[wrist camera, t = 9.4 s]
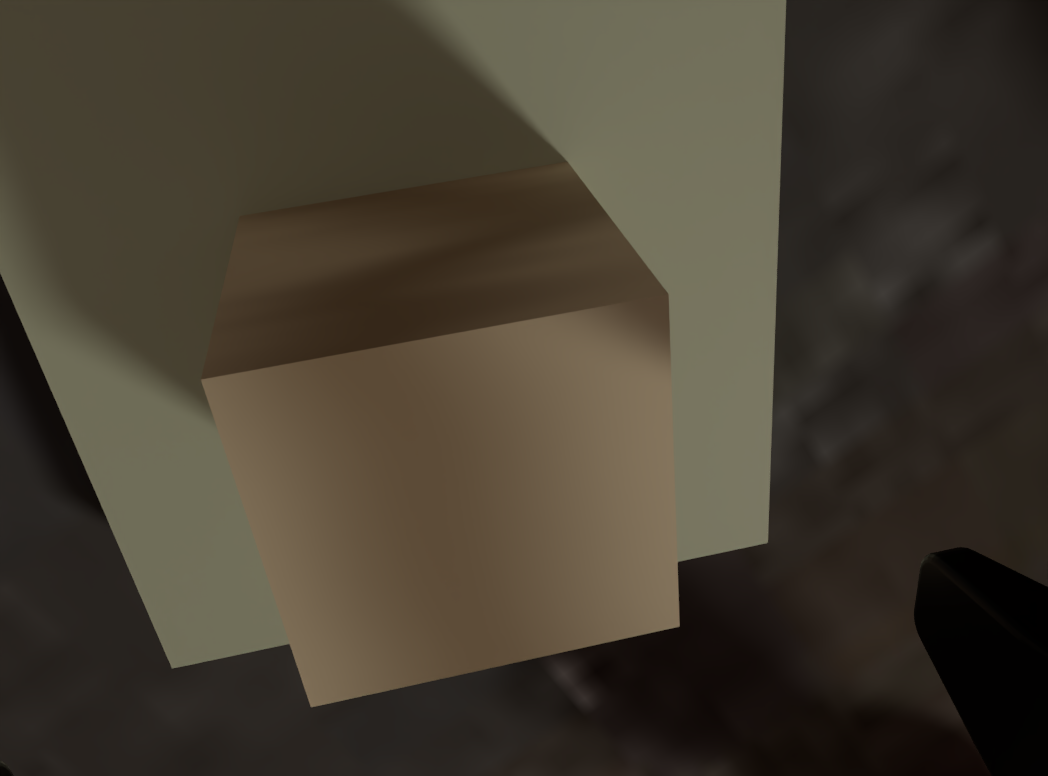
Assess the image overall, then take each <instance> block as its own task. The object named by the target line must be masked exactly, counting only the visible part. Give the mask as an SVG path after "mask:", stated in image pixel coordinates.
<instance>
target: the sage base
mask: <svg viewBox="0 0 1048 776" xmlns="http://www.w3.org/2000/svg"><path fill="white" fill-rule="evenodd" d="M785 17H786V0H0V274H1V276H2V278H3V281H4V283H5V285H6V288H7V290H8V292H9V294H10V297H11V299H12V301H13V304H14V306H15V308H16V311H17V313H18V315H19V317H20V320H21V322H22V324H23V327H24V329H25V331H26V334H27V336H28V338H29V340H30V343H31V345H32V347H33V350H34V352H35V354H36V357H37V359H38V361H39V363H40V366H41V368H42V370H43V373H44V375H45V377H46V380H47V382H48V384H49V386H50V389H51V391H52V393H53V396H54V398H55V400H56V403H57V405H58V407H59V409H60V412H61V414H62V416H63V419H64V421H65V423H66V426H67V428H68V430H69V432H70V435H71V437H72V439H73V442H74V444H75V446H76V448H77V451H78V453H79V455H80V458H81V460H82V462H83V465H84V467H85V469H86V471H87V474H88V476H89V478H90V481H91V483H92V485H93V488H94V490H95V492H96V494H97V497H98V499H99V501H100V504H101V506H102V508H103V511H104V513H105V515H106V517H107V520H108V522H109V524H110V527H111V529H112V531H113V534H114V536H115V538H116V540H117V543H118V545H119V547H120V550H121V552H122V554H123V557H124V559H125V561H126V563H127V566H128V568H129V570H130V573H131V575H132V577H133V580H134V582H135V584H136V586H137V589H138V591H139V593H140V596H141V598H142V600H143V603H144V605H145V607H146V609H147V612H148V614H149V616H150V619H151V621H152V623H153V626H154V628H155V630H156V632H157V635H158V637H159V639H160V642H161V644H162V646H163V649H164V651H165V653H166V655H167V658H168V660H169V662H170V665H171V667H172V668H177V667H182V666H186V665H191V664H196V663H201V662H205V661H210V660H215V659H220V658H224V657H229V656H234V655H238V654H243V653H248V652H253V651H257V650H262V649H267V648H272V647H276V646H281V645H286V644H290V643H289V640H288V637H287V634H286V631H285V628H284V625H283V622H282V619H281V616H280V614H279V611H278V608H277V605H276V602H275V599H274V596H273V593H272V590H271V587H270V584H269V581H268V578H267V575H266V572H265V569H264V566H263V563H262V560H261V557H260V554H259V551H258V548H257V545H256V542H255V539H254V536H253V533H252V530H251V527H250V524H249V521H248V519H247V516H246V513H245V510H244V507H243V504H242V501H241V498H240V495H239V492H238V489H237V486H236V483H235V480H234V477H233V474H232V471H231V468H230V465H229V462H228V459H227V456H226V453H225V450H224V447H223V444H222V441H221V438H220V435H219V432H218V429H217V427H216V424H215V421H214V418H213V415H212V412H211V409H210V406H209V403H208V400H207V397H206V394H205V391H204V388H203V385H202V382H201V376H202V372H203V368H204V364H205V360H206V355H207V351H208V347H209V343H210V339H211V334H212V330H213V326H214V322H215V318H216V313H217V309H218V305H219V301H220V297H221V292H222V288H223V284H224V280H225V275H226V271H227V267H228V263H229V259H230V254H231V250H232V246H233V242H234V238H235V233H236V229H237V225H238V221H239V217H240V216H243V215H249V214H255V213H261V212H267V211H273V210H279V209H285V208H291V207H297V206H303V205H309V204H315V203H321V202H327V201H333V200H339V199H345V198H351V197H357V196H363V195H369V194H375V193H381V192H387V191H393V190H399V189H405V188H411V187H417V186H423V185H429V184H435V183H441V182H447V181H453V180H459V179H465V178H472V177H478V176H484V175H490V174H496V173H502V172H508V171H514V170H520V169H526V168H532V167H538V166H544V165H550V164H556V163H562V162H568V163H569V164H570V165H571V167H572V168H573V169H574V171H575V172H576V173H577V175H578V176H579V177H580V179H581V180H582V181H583V182H584V184H585V185H586V186H587V188H588V189H589V190H590V192H591V193H592V194H593V196H594V197H595V198H596V200H597V201H598V202H599V203H600V205H601V206H602V207H603V209H604V210H605V211H606V213H607V214H608V215H609V217H610V218H611V219H612V221H613V222H614V223H615V224H616V226H617V227H618V228H619V230H620V231H621V232H622V234H623V235H624V236H625V238H626V239H627V240H628V242H629V243H630V244H631V245H632V247H633V248H634V249H635V251H636V252H637V253H638V255H639V256H640V257H641V259H642V260H643V261H644V263H645V264H646V265H647V267H648V268H649V269H650V270H651V272H652V273H653V274H654V276H655V277H656V278H657V280H658V281H659V282H660V284H661V285H662V286H663V288H664V289H665V290H666V291H667V293H668V294H669V320H670V350H671V380H672V410H673V440H674V471H675V501H676V531H677V561H678V562H679V561H684V560H689V559H693V558H698V557H703V556H708V555H712V554H717V553H722V552H726V551H731V550H736V549H741V548H745V547H750V546H755V545H760V544H764V543H768V522H769V492H770V462H771V433H772V403H773V373H774V343H775V314H776V284H777V254H778V225H779V195H780V165H781V136H782V106H783V76H784V46H785Z"/></svg>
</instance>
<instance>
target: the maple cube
mask: <svg viewBox="0 0 1048 776" xmlns="http://www.w3.org/2000/svg"><path fill="white" fill-rule="evenodd" d="M201 382H202V385H203V388H204V391H205V394H206V397H207V400H208V403H209V406H210V409H211V412H212V415H213V418H214V421H215V424H216V427H217V429H218V432H219V435H220V438H221V441H222V444H223V447H224V450H225V453H226V456H227V459H228V462H229V465H230V468H231V471H232V474H233V477H234V480H235V483H236V486H237V489H238V492H239V495H240V498H241V501H242V504H243V507H244V510H245V513H246V516H247V519H248V521H249V524H250V527H251V530H252V533H253V536H254V539H255V542H256V545H257V548H258V551H259V554H260V557H261V560H262V563H263V566H264V569H265V572H266V575H267V578H268V581H269V584H270V587H271V590H272V593H273V596H274V599H275V602H276V605H277V608H278V611H279V614H280V616H281V619H282V622H283V625H284V628H285V631H286V634H287V637H288V640H289V643H290V646H291V649H292V652H293V655H294V658H295V661H296V664H297V667H298V670H299V673H300V676H301V679H302V682H303V685H304V688H305V691H306V694H307V697H308V700H309V703H310V706H311V707H315V706H319V705H324V704H328V703H333V702H338V701H342V700H347V699H351V698H356V697H360V696H365V695H370V694H374V693H379V692H383V691H388V690H392V689H397V688H401V687H406V686H411V685H415V684H420V683H424V682H429V681H433V680H438V679H443V678H447V677H452V676H456V675H461V674H465V673H470V672H475V671H479V670H484V669H488V668H493V667H497V666H502V665H506V664H511V663H516V662H520V661H525V660H529V659H534V658H538V657H543V656H548V655H552V654H557V653H561V652H566V651H570V650H575V649H580V648H584V647H589V646H593V645H598V644H602V643H607V642H611V641H616V640H621V639H625V638H630V637H634V636H639V635H643V634H648V633H653V632H657V631H662V630H666V629H671V628H675V627H680V621H679V591H678V561H677V531H676V501H675V471H674V440H673V410H672V380H671V350H670V320H669V294H668V293H667V291H666V290H665V289H664V288H663V286H662V285H661V284H660V282H659V281H658V280H657V278H656V277H655V276H654V274H653V273H652V272H651V270H650V269H649V268H648V267H647V265H646V264H645V263H644V261H643V260H642V259H641V257H640V256H639V255H638V253H637V252H636V251H635V249H634V248H633V247H632V245H631V244H630V243H629V242H628V240H627V239H626V238H625V236H624V235H623V234H622V232H621V231H620V230H619V228H618V227H617V226H616V224H615V223H614V222H613V221H612V219H611V218H610V217H609V215H608V214H607V213H606V211H605V210H604V209H603V207H602V206H601V205H600V203H599V202H598V201H597V200H596V198H595V197H594V196H593V194H592V193H591V192H590V190H589V189H588V188H587V186H586V185H585V184H584V182H583V181H582V180H581V179H580V177H579V176H578V175H577V173H576V172H575V171H574V169H573V168H572V167H571V165H570V164H569V163H568V162H562V163H556V164H550V165H544V166H538V167H532V168H526V169H520V170H514V171H508V172H502V173H496V174H490V175H484V176H478V177H472V178H465V179H459V180H453V181H447V182H441V183H435V184H429V185H423V186H417V187H411V188H405V189H399V190H393V191H387V192H381V193H375V194H369V195H363V196H357V197H351V198H345V199H339V200H333V201H327V202H321V203H315V204H309V205H303V206H297V207H291V208H285V209H279V210H273V211H267V212H261V213H255V214H249V215H243V216H240V217H239V221H238V225H237V229H236V233H235V238H234V242H233V246H232V250H231V254H230V259H229V263H228V267H227V271H226V275H225V280H224V284H223V288H222V292H221V297H220V301H219V305H218V309H217V313H216V318H215V322H214V326H213V330H212V334H211V339H210V343H209V347H208V351H207V355H206V360H205V364H204V368H203V372H202V376H201Z"/></svg>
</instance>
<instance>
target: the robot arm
mask: <svg viewBox="0 0 1048 776" xmlns="http://www.w3.org/2000/svg"><path fill="white" fill-rule="evenodd" d="M914 620H915V625H916V629H917V632H918V635H919V637H920V639H921V641H922V643H923V645H924V647H925V649H926V651H927V653H928V655H929V656H930V658H931V660H932V662H933V664H934V666H935V668H936V670H937V672H938V674H939V676H940V678H941V680H942V682H943V684H944V686H945V688H946V690H947V692H948V693H949V695H950V697H951V699H952V701H953V703H954V705H955V707H956V709H957V711H958V713H959V715H960V717H961V719H962V721H963V723H964V725H965V727H966V729H967V730H968V732H969V734H970V736H971V738H972V740H973V742H974V744H975V746H976V748H977V750H978V752H979V754H980V755H981V757H982V759H983V761H984V763H985V764H986V766H987V768H988V770H989V772H990V773H991V775H992V776H1048V587H1047V586H1045V585H1043V584H1041V583H1038V582H1036V581H1034V580H1032V579H1030V578H1028V577H1026V576H1024V575H1022V574H1020V573H1018V572H1016V571H1014V570H1012V569H1010V568H1008V567H1006V566H1004V565H1002V564H1000V563H998V562H996V561H994V560H992V559H990V558H988V557H986V556H984V555H982V554H980V553H978V552H976V551H973V550H971V549H968V548H964V547H958V548H953V549H949V550H944V551H940V552H935V553H930V554H928V555H927V556H926V557H925V558H924V559H923V561H922V563H921V567H920V574H919V581H918V588H917V594H916V601H915V608H914ZM0 776H13V774H12V772H11V771H10V769H9V768H8V766H7V765H6V764H5V763H4V762H2V761H0Z"/></svg>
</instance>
